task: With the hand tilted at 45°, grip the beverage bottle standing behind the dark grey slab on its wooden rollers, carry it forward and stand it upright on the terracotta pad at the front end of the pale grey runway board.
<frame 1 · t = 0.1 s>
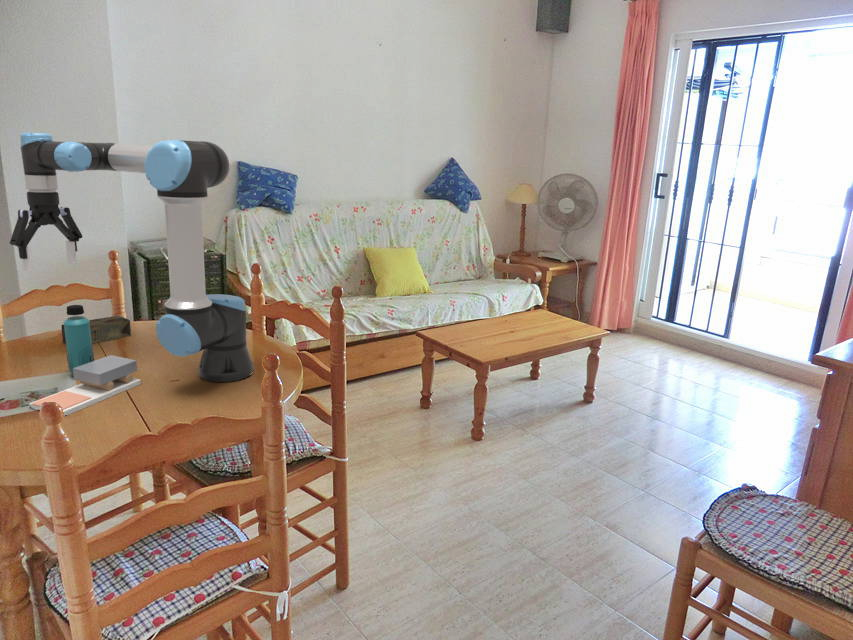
hand: (51, 266, 175), 28 cm above the table, tool pointing down, fingers open, 13 cm apart
slab: (107, 387, 164), resting on runway
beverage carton: (98, 340, 201), on the table
beverage bottle: (82, 375, 171), on the table
runway: (88, 395, 158), on the table
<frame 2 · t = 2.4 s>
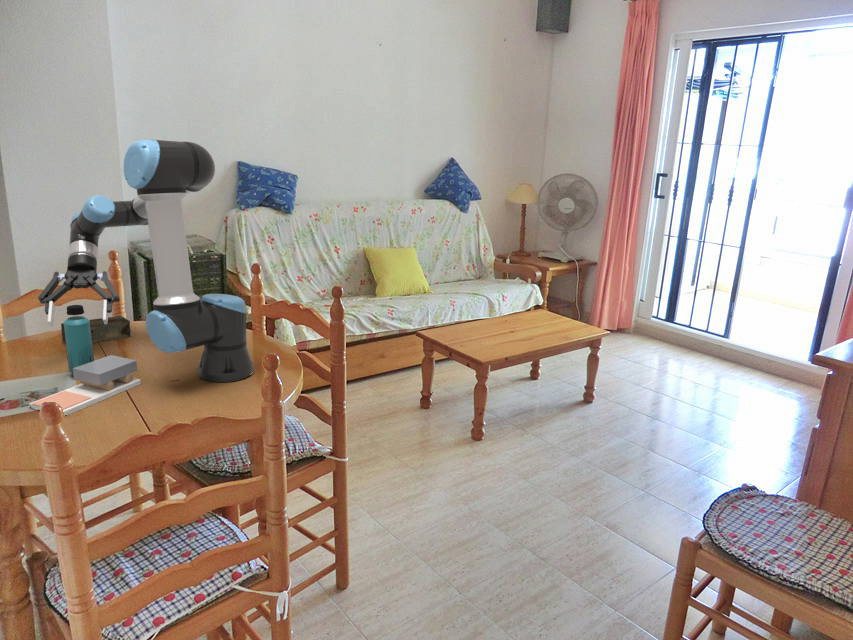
hand: (78, 323, 172), 14 cm above the table, tool tilted 45°, fingers open, 13 cm apart
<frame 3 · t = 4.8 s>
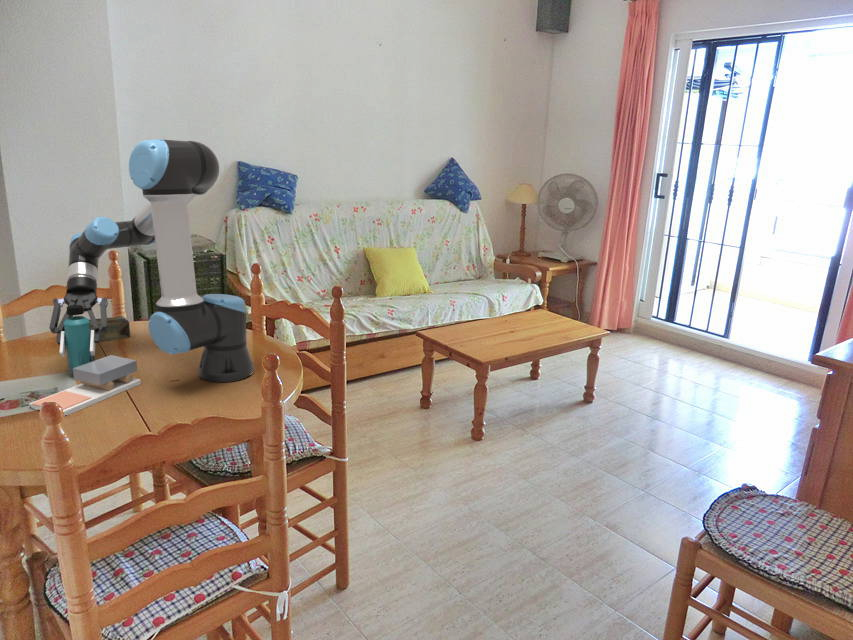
hand: (77, 353, 166), 7 cm above the table, tool tilted 45°, fingers closed on beverage bottle, 6 cm apart
beverage bottle: (82, 375, 171), on the table, touching gripper
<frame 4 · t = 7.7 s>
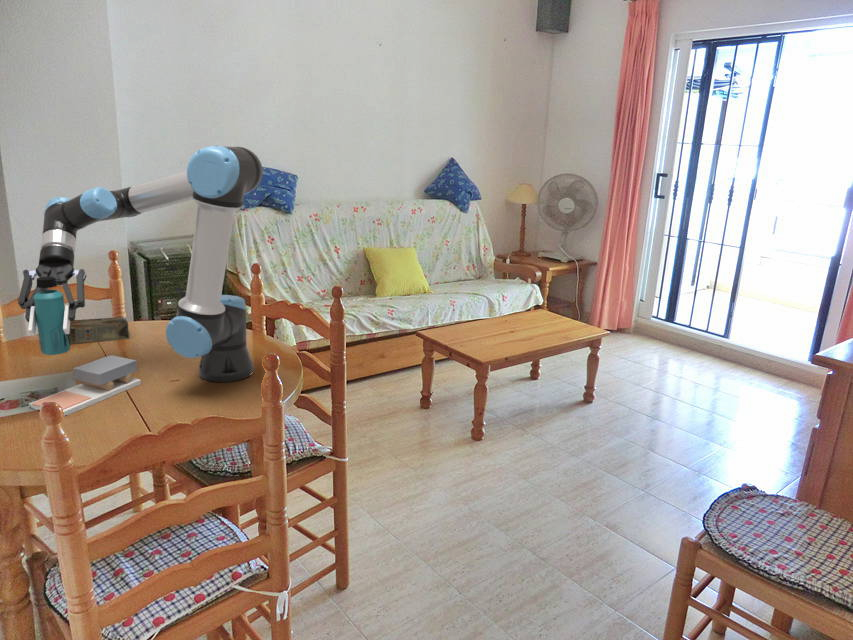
hand: (48, 332, 146), 19 cm above the table, tool tilted 45°, fingers closed on beverage bottle, 6 cm apart
beverage bottle: (56, 357, 151), point 12 cm above the table, touching gripper
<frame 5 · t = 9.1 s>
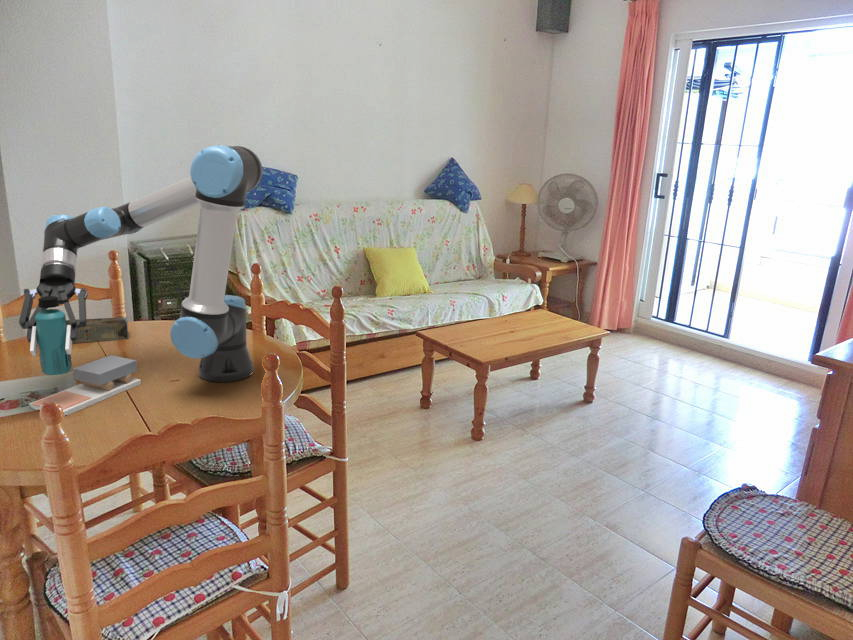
hand: (50, 352, 144), 15 cm above the table, tool tilted 45°, fingers closed on beverage bottle, 6 cm apart
beverage bottle: (57, 377, 149), point 7 cm above the table, touching gripper
when the fingers open (10 cm above the table, at t = 10.5 s): beverage bottle drops 1 cm, resting on runway.
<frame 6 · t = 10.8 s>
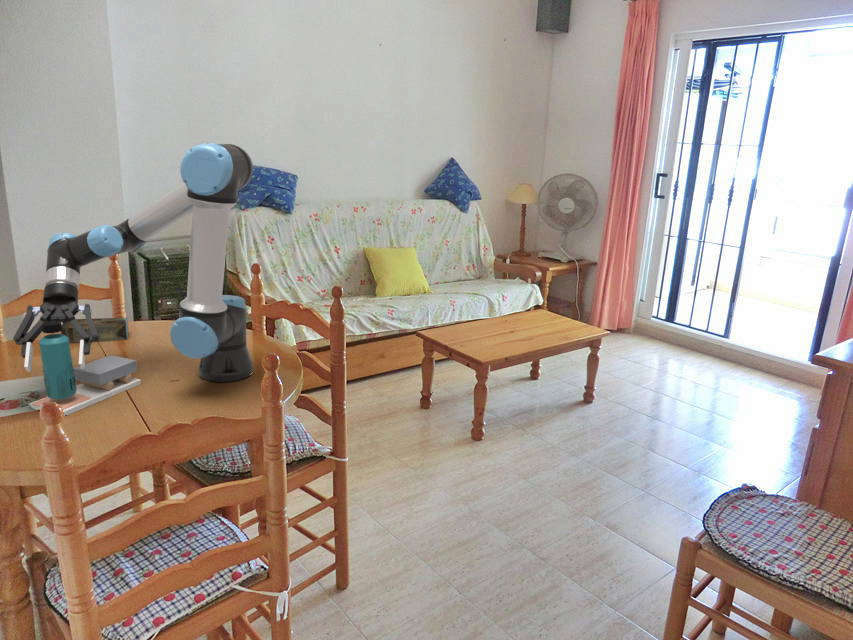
hand: (54, 367, 146), 11 cm above the table, tool tilted 45°, fingers open, 10 cm apart
beverage bottle: (62, 400, 151), point 1 cm above the table, touching runway
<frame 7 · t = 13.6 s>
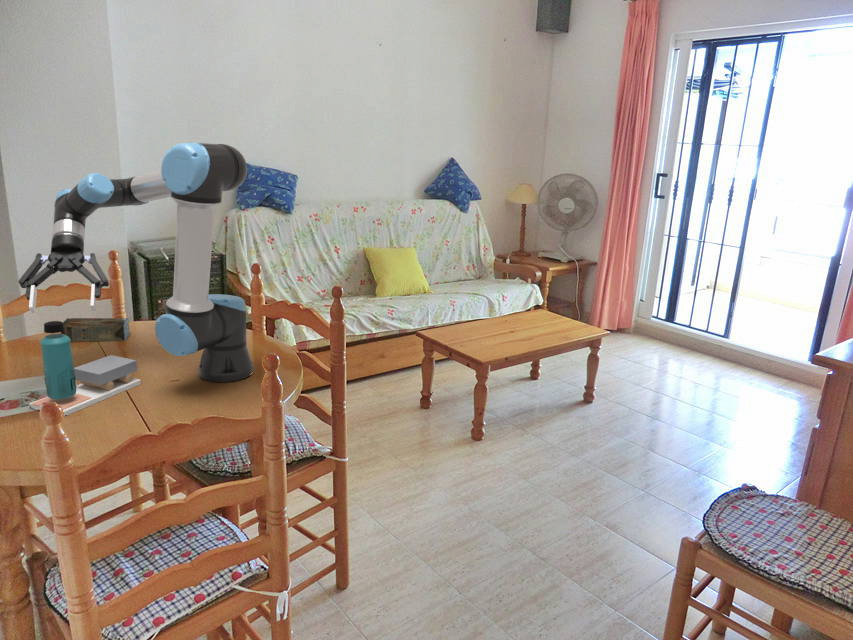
hand: (62, 309, 155), 22 cm above the table, tool tilted 45°, fingers open, 13 cm apart
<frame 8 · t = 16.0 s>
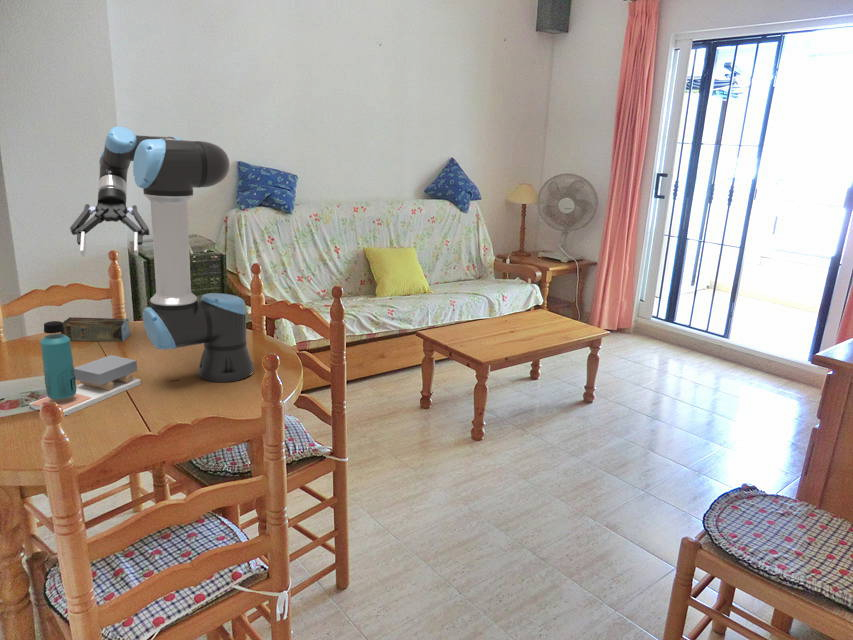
hand: (109, 253, 173), 33 cm above the table, tool tilted 45°, fingers open, 13 cm apart
at the end: beverage bottle inside the target area on the runway (0.1 cm from its centre), point 1.3 cm above the runway's base; beverage bottle tilted 0°; the gripper is holding nothing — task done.
